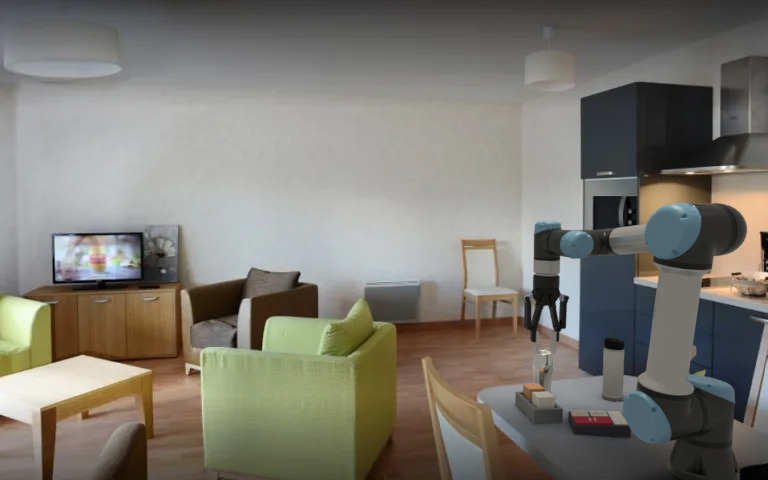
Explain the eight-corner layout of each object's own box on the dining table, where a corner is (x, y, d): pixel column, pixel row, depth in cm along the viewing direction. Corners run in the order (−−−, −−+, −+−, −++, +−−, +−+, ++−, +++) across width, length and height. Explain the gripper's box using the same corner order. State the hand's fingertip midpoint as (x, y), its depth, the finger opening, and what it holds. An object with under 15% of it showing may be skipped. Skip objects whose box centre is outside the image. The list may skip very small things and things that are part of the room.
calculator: (567, 408, 178) (621, 409, 175) (568, 422, 178) (621, 423, 176) (573, 422, 167) (630, 423, 165) (574, 437, 167) (631, 438, 165)
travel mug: (597, 396, 198) (599, 336, 197) (612, 393, 201) (614, 334, 199) (611, 402, 192) (613, 341, 191) (626, 399, 195) (629, 339, 194)
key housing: (562, 422, 176) (562, 408, 175) (534, 423, 175) (534, 410, 174) (541, 403, 192) (541, 390, 191) (515, 404, 191) (515, 391, 190)
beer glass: (527, 394, 200) (528, 350, 199) (545, 392, 202) (547, 348, 201) (538, 401, 193) (540, 355, 192) (557, 399, 195) (559, 353, 194)
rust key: (544, 401, 185) (544, 388, 184) (528, 402, 184) (529, 389, 184) (538, 396, 190) (538, 383, 189) (523, 396, 189) (523, 384, 189)
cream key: (554, 410, 177) (554, 397, 177) (538, 411, 176) (538, 397, 176) (547, 404, 182) (548, 391, 182) (531, 405, 181) (532, 392, 181)
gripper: (569, 272, 181) (567, 348, 183) (513, 272, 179) (511, 350, 181) (580, 275, 174) (578, 355, 175) (521, 276, 171) (520, 356, 173)
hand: (544, 352), depth 178 cm, fingers open, 4 cm apart
